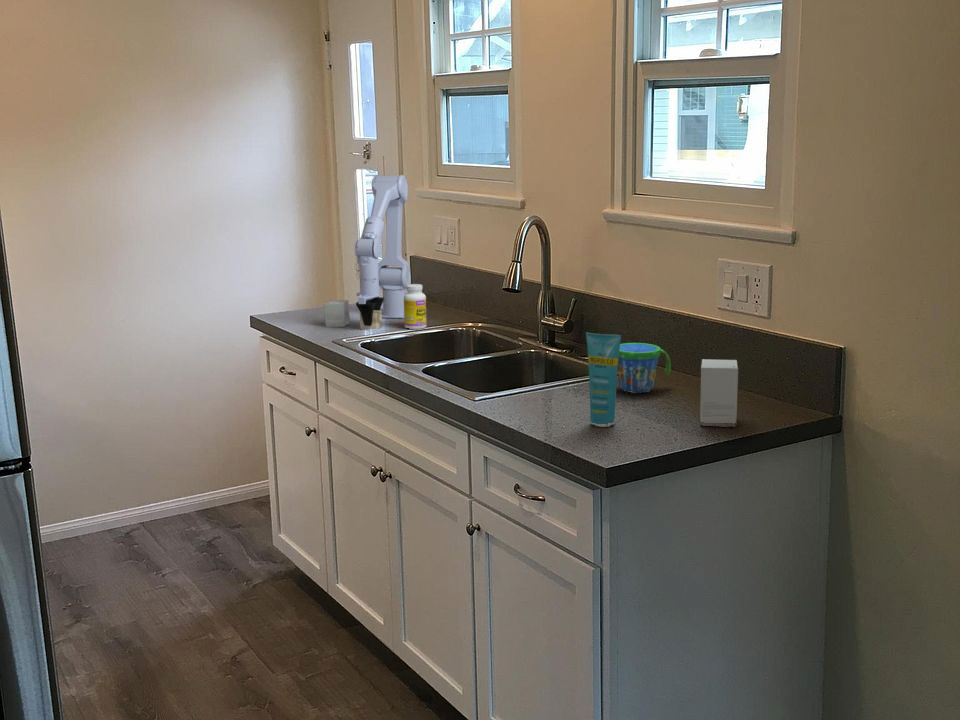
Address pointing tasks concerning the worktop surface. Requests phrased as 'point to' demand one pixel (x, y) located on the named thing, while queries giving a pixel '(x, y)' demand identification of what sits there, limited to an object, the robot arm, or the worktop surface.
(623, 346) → the snack cup
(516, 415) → the worktop surface
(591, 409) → the tube
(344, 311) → the skincare box
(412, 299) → the supplement bottle
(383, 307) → the robot arm
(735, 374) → the supplement box
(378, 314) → the block
